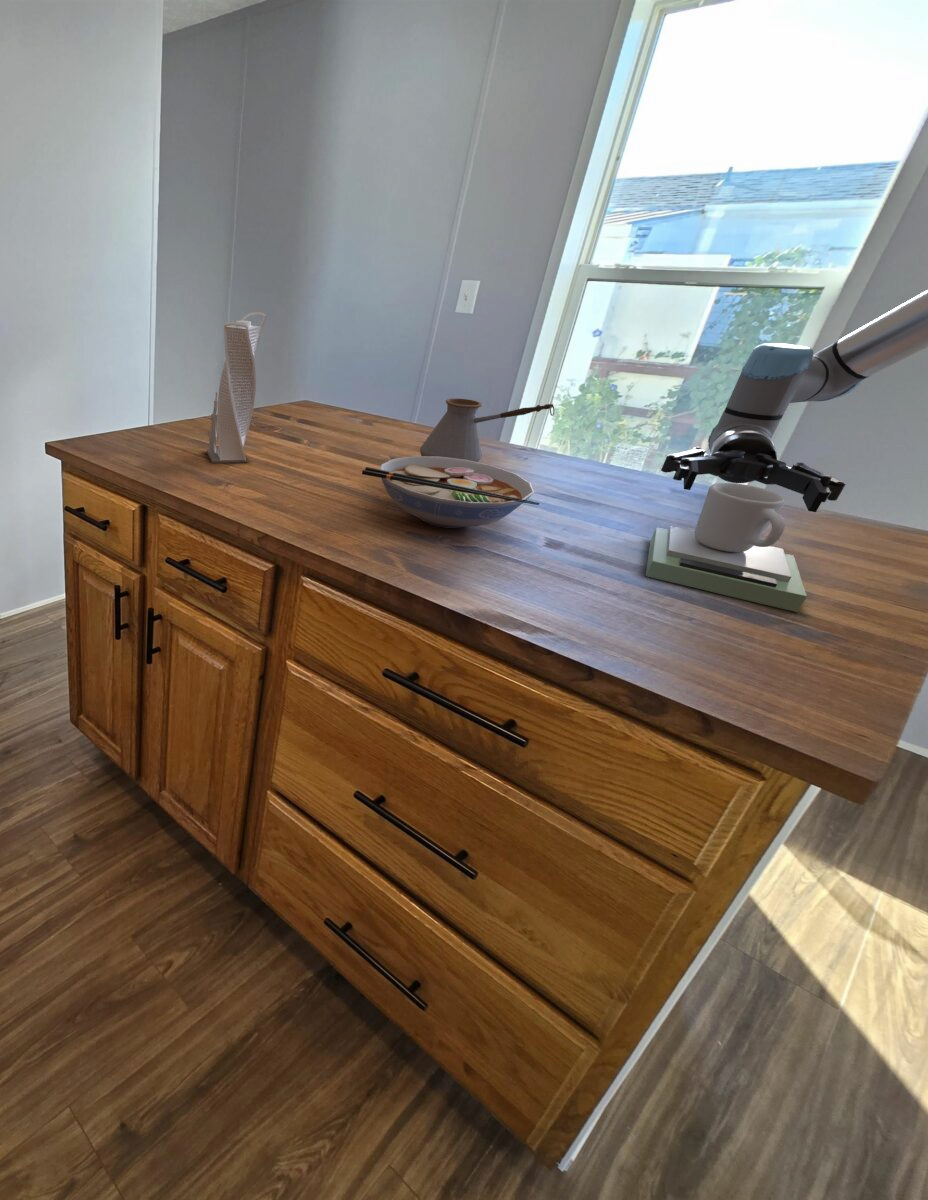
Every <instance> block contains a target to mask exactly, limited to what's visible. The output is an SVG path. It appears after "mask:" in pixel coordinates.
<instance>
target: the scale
mask: <svg viewBox="0 0 928 1200" xmlns="http://www.w3.org/2000/svg"><path fill="white" fill-rule="evenodd" d="M646 563H647V564H646V570H645V577H647V578H652V579H656V580H659V581H665V582H668V583H671V584H672V583H673V584H676V585H681V586H685V587H689V588H694V589H697V590H702V591H706V592H711V593H715V594H718V595H722V596H727V597H731V598H735V599H740V600H744V601H747V602H751V603H756V604H760V605H765V606H769V607H773V608H777V609H782V610H785V611H789V612H794V613H798V612H799V611H800V608H801V607H802V605H803V604H804V602H805V600H806V599H807V598H808V595H807V592H806V589H805V585H804V583H803V580H802V576H801V574H800V571H799V568H798V564H797V561H796V558H795V555H793V554H788V553H785V551H784V548H782V547H776V546H773V545H771V546H768V547H757V546H753V547H752V548H751V549H749V550H747V551H744V552H727V551H721V550H717V549H714V548H710V547H708V546H705V545H703V544H701V543H700V542H699V541H697V539H696V538H695V530H693V529H688V528H682V527H677V526H673V525H670V526H669V528H668V529H665V528H661V527H655V529H654V532H653V534H652V537H651V539H650V542H649V548H648V554H647V562H646Z"/></svg>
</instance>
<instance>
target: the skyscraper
mask: <svg viewBox="0 0 928 1200" xmlns="http://www.w3.org/2000/svg"><path fill="white" fill-rule="evenodd" d="M250 316H251V317H252V316H263V318H262V321H261V323H260V325H252V321H250V320H246V319H247V318H248V317H250ZM267 317H268V315H267V314H266V313H265V312H262V311H251V312H248V313H247V314H245V315H243V316H242V318H241V319H240V320H236V321H235V322H227V323H225V324H224V325H223V339H224V340H223V341H224V355H225V359H224V362H223V365H222V366H223V367H222V370H221V376H220V380H219V387H218V391H215V398H214V401H213V411H212V413H211V415H210V418H211V419H210V427H209V428H210V430H209V435H208V440H209V441H208V447H207V450H206V454H207V455H208V457H209V459H210V461H211V463H213V464H219V463H221V464H223V463H225V464H227V463H229V464H230V463H232V464H233V463H237V464H238V463H239V464H240V463H242V464H243V463H247V458H246V457H247V456H246V453H245V449H244V448H245V444H246V442H247V441H246V440H247V438H248V434H249V432H250V431H249V430H250V426H251V422H252V417H253V412H254V408H255V400H256V390H257V389H256V388H257V386H256V385H257V378H256V375H257V374H256V365H255V356H256V352H257V348H258V345H259V341H260V337H261V334H262V330H263V327H264V324H265V322H266V319H267ZM217 440H218V441H217ZM217 442H218V447H217Z"/></svg>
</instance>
